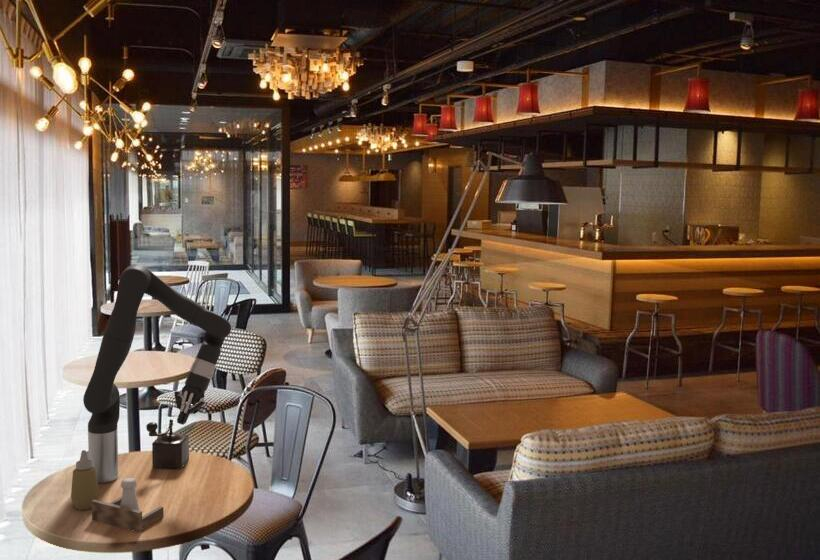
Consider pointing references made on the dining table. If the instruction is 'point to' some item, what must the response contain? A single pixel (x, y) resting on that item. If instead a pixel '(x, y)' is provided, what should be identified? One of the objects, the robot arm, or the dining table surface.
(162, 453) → the manual coffee grinder
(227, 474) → the dining table surface
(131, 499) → the salt shaker
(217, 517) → the dining table surface
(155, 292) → the robot arm
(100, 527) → the dining table surface
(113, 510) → the walnut bay
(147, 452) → the dining table surface
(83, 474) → the squeeze bottle
